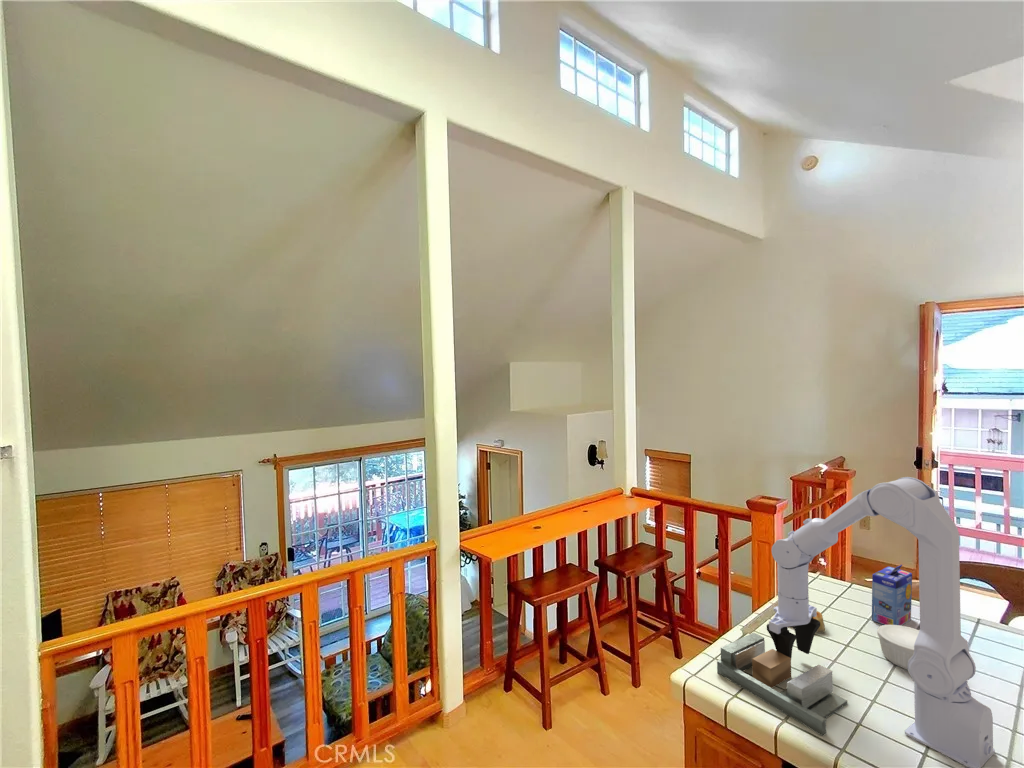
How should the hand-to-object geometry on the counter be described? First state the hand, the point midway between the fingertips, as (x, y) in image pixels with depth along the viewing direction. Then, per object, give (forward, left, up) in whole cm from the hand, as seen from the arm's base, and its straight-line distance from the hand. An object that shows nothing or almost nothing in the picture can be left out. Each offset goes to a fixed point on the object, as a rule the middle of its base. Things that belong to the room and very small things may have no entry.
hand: (794, 656), depth 102 cm
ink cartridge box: (-2, -40, -2) cm, 40 cm away
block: (0, +8, -2) cm, 8 cm away
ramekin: (-12, -23, -2) cm, 26 cm away
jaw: (-8, +9, -1) cm, 12 cm away
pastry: (+8, -19, -2) cm, 21 cm away
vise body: (-4, +9, -2) cm, 10 cm away
